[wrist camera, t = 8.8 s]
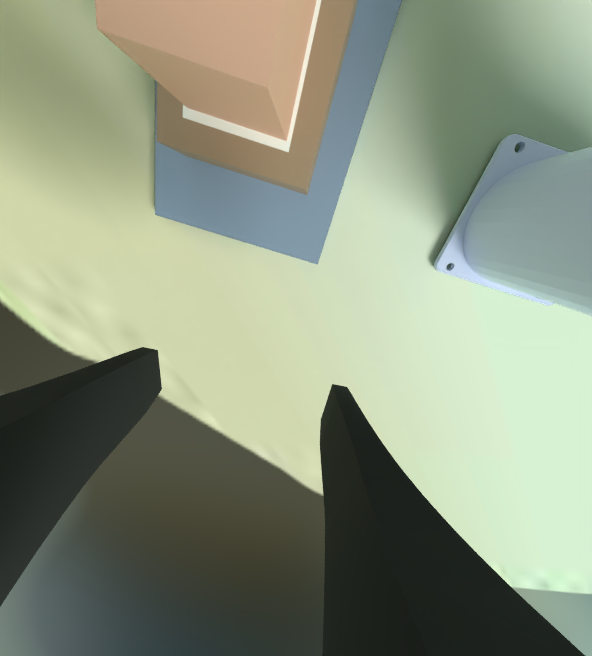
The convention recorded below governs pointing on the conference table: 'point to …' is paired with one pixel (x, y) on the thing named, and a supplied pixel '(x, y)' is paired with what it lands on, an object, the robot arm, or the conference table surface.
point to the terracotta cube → (218, 53)
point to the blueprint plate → (278, 142)
